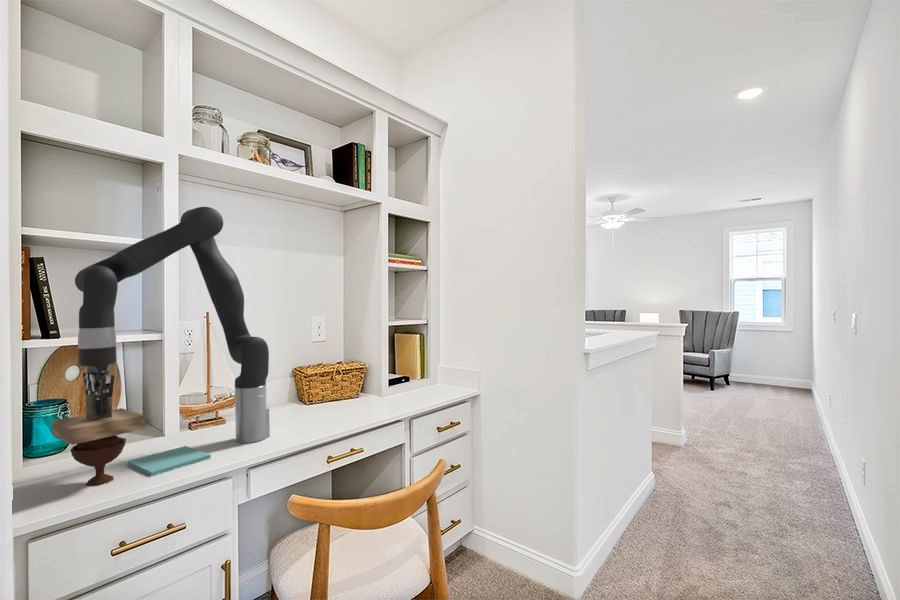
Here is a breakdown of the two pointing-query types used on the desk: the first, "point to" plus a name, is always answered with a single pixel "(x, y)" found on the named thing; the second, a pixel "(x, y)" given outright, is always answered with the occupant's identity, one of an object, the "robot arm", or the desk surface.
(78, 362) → the robot arm
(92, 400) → the walnut cover
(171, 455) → the teal mat
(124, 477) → the desk surface
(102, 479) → the ice cream bowl
